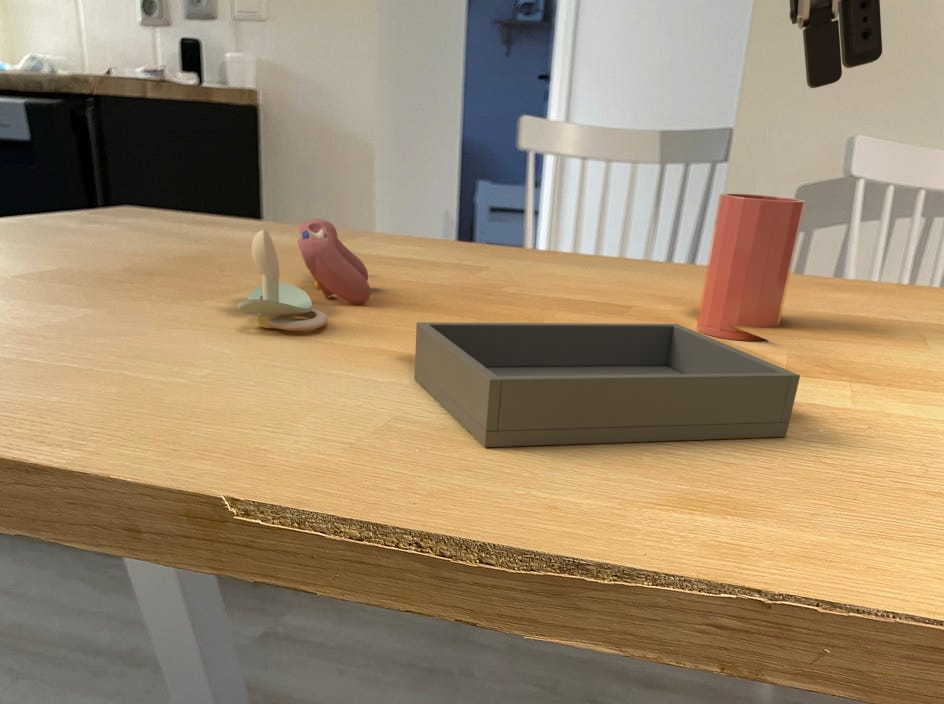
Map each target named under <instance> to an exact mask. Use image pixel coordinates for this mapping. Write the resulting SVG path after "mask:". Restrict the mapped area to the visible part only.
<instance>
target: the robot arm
mask: <svg viewBox="0 0 944 704" xmlns="http://www.w3.org/2000/svg"><path fill="white" fill-rule="evenodd" d="M789 19H790V21H791V23H792V25H795V24H797V25H798V26H797V27H798V28H799V30H802V29H803V30H802V36H803V37H802V38H803V50H804V61H805V73H806V74H805V76H806V84H807V86H808V88H809V89H816V88H821V87H825V86H828V85H833V84H834V83H836V82H837V83H838V81H840V79H841V78H842V76H843V68H842V67H844V68H846V69H853V68H856V67H860V66H864V65H867V64H871V63H873V62H876V61H878V60H879V59H880V58H881V56H882V54H883V39H882V37H883V36H882V19H881V1H880V0H789Z"/></svg>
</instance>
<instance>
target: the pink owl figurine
mask: <svg viewBox="0 0 944 704" xmlns="http://www.w3.org/2000/svg"><path fill="white" fill-rule="evenodd" d="M299 233H300V237H299V238H298V239H297V240H296V242H297V243H296V244H297V246H298V248H299V254H300V256H301V258H302V260H303V261H302V262H303V263H304V265H305V267H306V268H307V270H309V273H310V274H311V276H312V278H313V279H314V280H315V281H314V282H313V283H314V286H315V288H316V290H318V291H320V290H321V292H322V294H323V296H324V298H329V297H330V296H333V295H335V296H337V297H338V298H340V299H342V300H344V301H345V302H347V303H350V304H353V305H364V304H366V303H367V302H368V301H369V300H370V297H371V293H372V292H371V287H370V284H369V282H368V281H369V273H368V269H367V267H366V266H365V264H364V262H363V261H362V260H361V259H360V258H359V257H358V255H356V254H354V253H353V252H352V251H351V250H350V249H349V248H347V246H346V245H344V243H343V242H342V241H341V240H340V239H339V238H338V232H337V229H336V227H335V226H334V224H333V223H332V222H330V221H329V220H326V219H323V218H313V219H309V220H307V221H304V222H302V223H301V224H299Z"/></svg>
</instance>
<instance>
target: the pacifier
mask: <svg viewBox="0 0 944 704" xmlns="http://www.w3.org/2000/svg"><path fill="white" fill-rule="evenodd" d="M277 254H278V253H277V251H276V248H275V245H274V241H273V239H272V237H271V235H270V233H269V232H268V230H266V229H261V230H260V231H258V232H257V233H255V236H254V237H253V239H252V243H251V256H252V257H251V258H252V261H253V263H254V265H255V267H256V269H257V271H258V272H259V274H261V276H262V277H261V282H262V283H261V284H260V285H258V286H257V287H255V288H254V289H253V290H252V291H251V292H250V293H249V294H248V297H247V299H244V300H242V301H239V302H237V305H236V307H237V311H238V312H240V313H243V314H248V315H252V316H257V317H256V319H257V324H258V327H259V326H260V327H259V328H265V329H277V330H278V329H280V330H283V331H294V332H295V331H296V332H302V331H304V332H305V331H311V330H316V329H319V328H322V327H324V326H325V325H326V324H328V320H329V316H327V315H326V313H324V312H323V311H320V310H317V309H313V302H312V299H311V298H310V296H309V295H308V294H307V292H305V290H303V289H301V288H299V287H298V286H295V285H293V284H291V283H287V282H282V281H279V280H280V265H279V259H278V255H277ZM295 318H306V319H303V320H302V319H301V320H295Z"/></svg>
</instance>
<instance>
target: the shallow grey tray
mask: <svg viewBox="0 0 944 704" xmlns="http://www.w3.org/2000/svg"><path fill="white" fill-rule="evenodd" d="M415 329H416V330H415V353H414V354H415V355H414V375H413V376H414V377H413V378H414V380H415V381H416V382H417V383H418V384H419V385H420V386H421V387H422V388H423V389H424V390H425V391H426V392H427V393H428V394H429V395H430V396H431V397H432V398H433V399H435V400H436V401H437V402H438V404H439V405H440V406H442V407H443V408H444V409H445V410H446V412H448V413H449V415H451V416H452V417H453V418H454V419H455V420H456V421H457V422H458V423H459V424H460V425H461V426H462V427H463V428H464V429H465V430H466V431H467V432H469V434H470V435H472V437H473V438H474V439H476V441H478V442H479V444H481V446H482V447H484V448H504V447H505V448H506V447H507V448H508V447H534V446H536V447H537V446H563V445H564V446H565V445H589V444H590V445H594V444H616V443H617V444H620V443H649V442H677V441H678V442H679V441H702V440H705V441H706V440H707V441H708V440H730V439H731V440H733V439H736V440H737V439H755V438H756V439H759V438H760V439H761V438H763V439H764V438H785V437H787V434H788V430H789V426H790V421H791V417H792V413H793V408H794V404H795V400H796V395H797V392H798V388H799V384H800V379H801V375H800V374H798V373H795V372H793V371H791V370H788V369H786V368H785V367H782V366H779V365H776V364H774V363H772V362H769V361H766V360H765V359H762V358H760V357H758V356H756V355H753V354H750V353H748V352H746V351H743V350H741V349H739V348H736V347H734V346H731V345H729V344H727V343H724V342H722V341H719V340H717V339H714V338H712V337H709V336H707V335H706V334H703V333H701V332H699V331H695V330H693V329H690V328H688V327H685V326H683V325H681V324H678V323H615V322H614V323H613V322H612V323H599V322H598V323H596V322H594V323H593V322H589V323H588V322H585V323H584V322H573V323H572V322H441V321H440V322H438V321H437V322H435V321H434V322H426V321H424V322H423V321H422V322H421V321H419V322H416V328H415Z"/></svg>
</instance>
